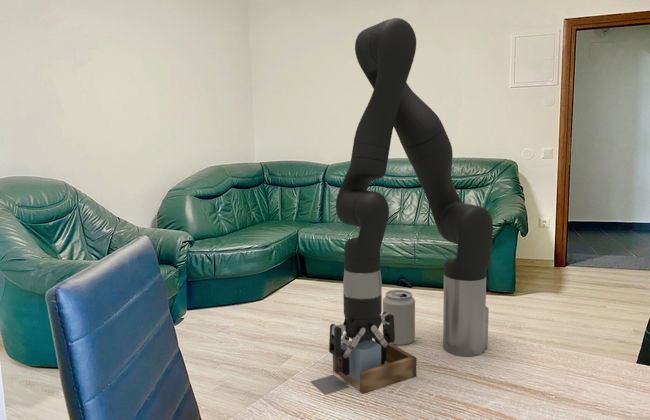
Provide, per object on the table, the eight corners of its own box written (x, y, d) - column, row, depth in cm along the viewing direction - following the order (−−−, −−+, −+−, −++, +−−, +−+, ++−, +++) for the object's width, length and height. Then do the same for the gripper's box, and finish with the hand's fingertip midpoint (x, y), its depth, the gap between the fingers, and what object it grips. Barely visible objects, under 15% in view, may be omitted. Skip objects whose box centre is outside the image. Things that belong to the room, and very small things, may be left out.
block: (367, 368, 105) (366, 336, 104) (381, 378, 101) (381, 345, 100) (346, 374, 102) (346, 342, 101) (360, 385, 98) (360, 351, 97)
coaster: (333, 377, 103) (333, 374, 103) (349, 389, 98) (349, 386, 97) (310, 384, 100) (310, 381, 100) (325, 397, 95) (325, 394, 95)
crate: (383, 358, 111) (383, 339, 110) (416, 378, 101) (416, 357, 101) (333, 373, 104) (332, 353, 104) (362, 396, 95) (362, 374, 94)
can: (414, 348, 115) (414, 298, 113) (381, 346, 117) (381, 297, 115) (415, 335, 122) (415, 288, 121) (384, 334, 124) (384, 287, 122)
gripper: (380, 280, 106) (380, 353, 108) (321, 292, 99) (323, 369, 101) (403, 290, 99) (402, 367, 101) (341, 303, 92) (342, 385, 95)
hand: (362, 368), depth 101 cm, fingers open, 8 cm apart
